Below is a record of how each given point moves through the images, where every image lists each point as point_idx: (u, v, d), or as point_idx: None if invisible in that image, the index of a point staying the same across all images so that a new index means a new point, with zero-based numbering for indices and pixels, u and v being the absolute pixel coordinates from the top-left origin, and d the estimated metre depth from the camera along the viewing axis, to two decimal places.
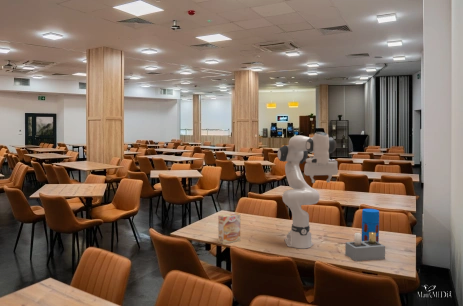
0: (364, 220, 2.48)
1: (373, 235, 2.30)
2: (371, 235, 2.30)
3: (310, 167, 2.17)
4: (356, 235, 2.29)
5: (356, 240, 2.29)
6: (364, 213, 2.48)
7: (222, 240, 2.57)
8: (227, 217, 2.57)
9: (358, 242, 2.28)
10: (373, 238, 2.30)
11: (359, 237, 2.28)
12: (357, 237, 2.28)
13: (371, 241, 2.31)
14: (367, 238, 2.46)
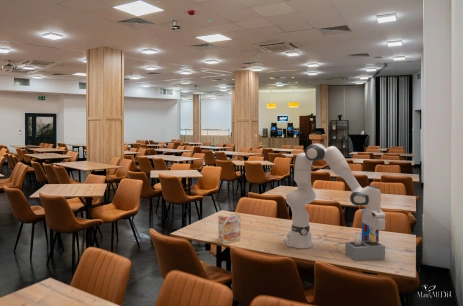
0: None
1: (373, 236, 2.30)
2: (371, 236, 2.30)
3: None
4: (356, 235, 2.29)
5: (356, 240, 2.29)
6: None
7: (222, 240, 2.57)
8: (227, 217, 2.57)
9: (358, 242, 2.28)
10: (373, 239, 2.30)
11: (359, 237, 2.28)
12: (357, 237, 2.28)
13: (371, 242, 2.31)
14: (367, 238, 2.46)
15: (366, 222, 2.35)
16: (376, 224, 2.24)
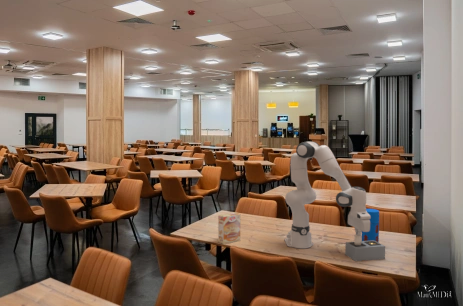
0: None
1: None
2: None
3: None
4: (356, 237, 2.29)
5: (356, 242, 2.29)
6: None
7: (222, 240, 2.57)
8: (227, 217, 2.57)
9: (358, 244, 2.28)
10: None
11: (359, 239, 2.28)
12: (357, 239, 2.28)
13: None
14: (367, 238, 2.46)
15: (352, 224, 2.33)
16: (361, 226, 2.23)
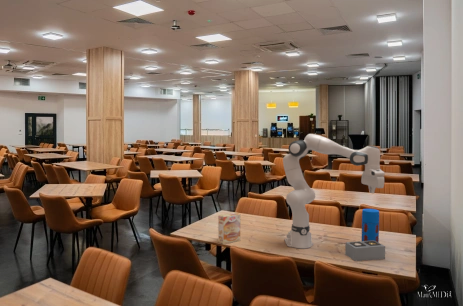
0: (364, 220, 2.48)
1: None
2: None
3: None
4: None
5: None
6: (364, 213, 2.48)
7: (222, 240, 2.57)
8: (227, 217, 2.57)
9: None
10: None
11: None
12: None
13: None
14: (367, 238, 2.46)
15: (365, 182, 2.39)
16: (375, 182, 2.28)
